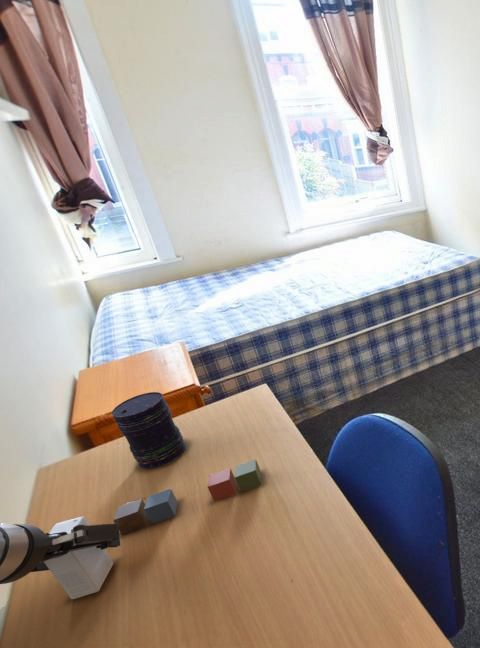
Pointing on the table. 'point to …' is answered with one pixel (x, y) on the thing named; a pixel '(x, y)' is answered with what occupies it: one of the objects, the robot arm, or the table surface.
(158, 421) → the storage jar
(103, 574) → the cosmetic box
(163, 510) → the block
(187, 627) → the table surface
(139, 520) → the block
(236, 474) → the block
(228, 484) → the block
